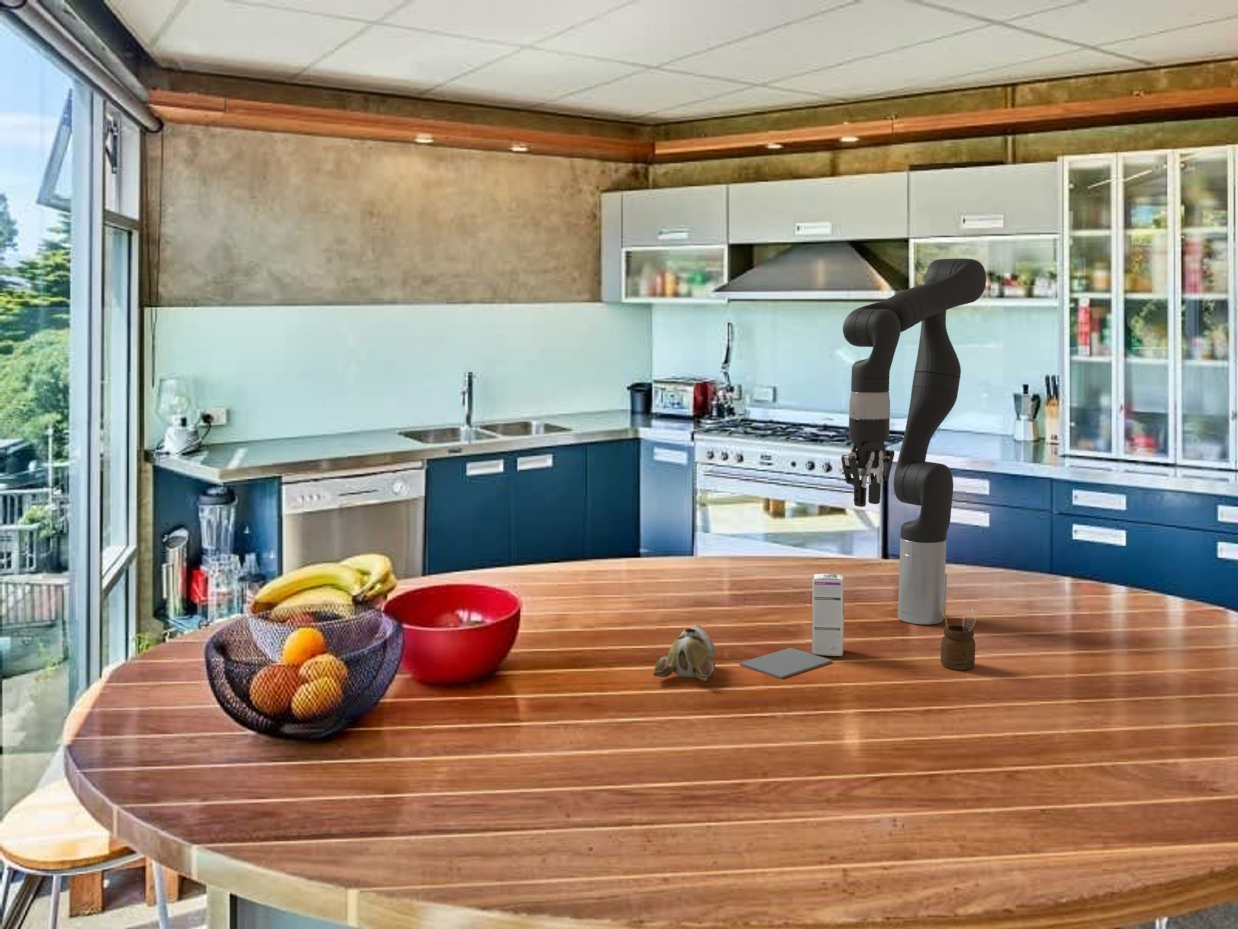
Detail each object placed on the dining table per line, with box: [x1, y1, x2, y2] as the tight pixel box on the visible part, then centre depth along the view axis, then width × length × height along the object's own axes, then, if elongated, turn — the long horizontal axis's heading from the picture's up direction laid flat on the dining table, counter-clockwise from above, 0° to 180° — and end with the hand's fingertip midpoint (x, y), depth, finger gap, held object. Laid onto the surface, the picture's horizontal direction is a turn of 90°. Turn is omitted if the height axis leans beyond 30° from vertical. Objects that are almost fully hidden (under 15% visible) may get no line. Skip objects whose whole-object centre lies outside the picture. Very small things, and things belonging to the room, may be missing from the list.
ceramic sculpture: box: [652, 623, 716, 682], centre depth 190 cm, size 11×9×15 cm
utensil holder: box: [940, 600, 978, 671], centre depth 194 cm, size 6×6×12 cm
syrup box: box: [811, 573, 845, 657], centre depth 202 cm, size 6×6×14 cm
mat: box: [739, 647, 833, 679], centre depth 196 cm, size 14×10×1 cm
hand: (866, 504), depth 205 cm, fingers open, 3 cm apart
